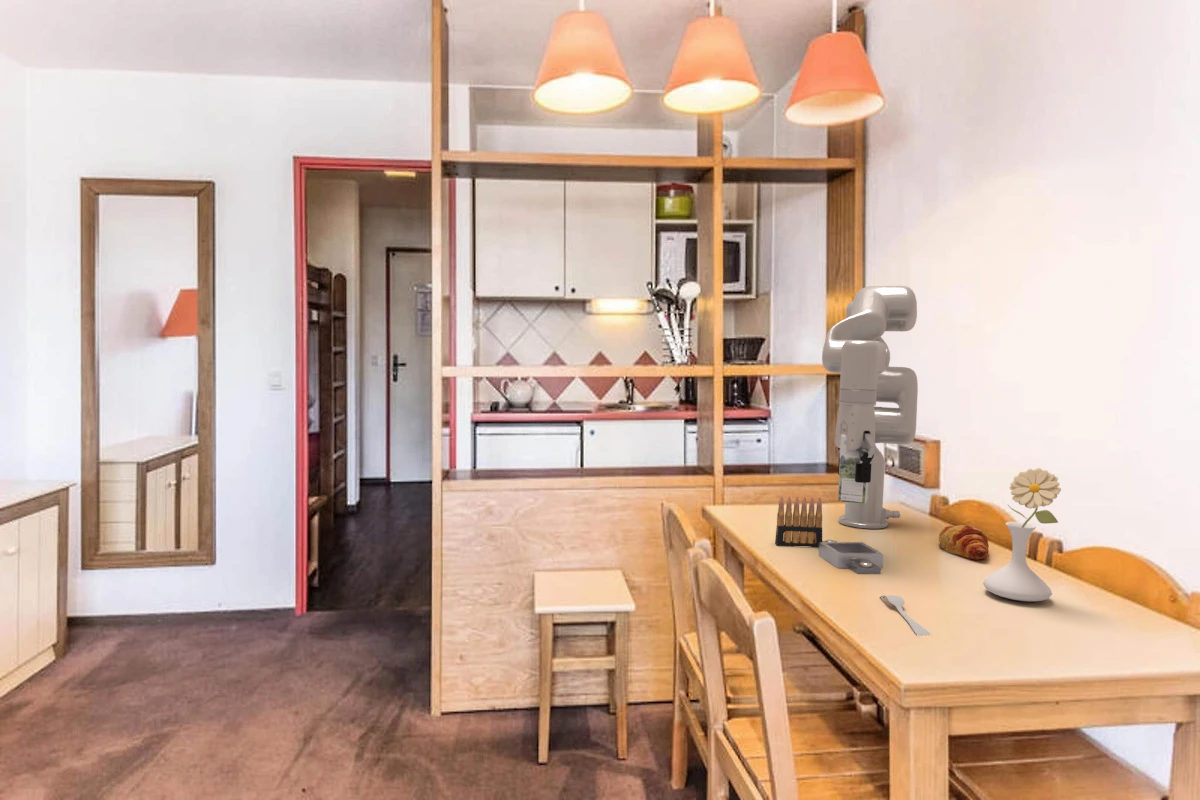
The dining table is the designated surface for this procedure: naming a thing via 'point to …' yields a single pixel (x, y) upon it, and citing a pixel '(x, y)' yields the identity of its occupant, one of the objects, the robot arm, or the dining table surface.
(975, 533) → the croissant
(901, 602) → the fork
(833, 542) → the bolted metal bracket
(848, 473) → the syrup box
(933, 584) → the dining table surface
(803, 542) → the ammunition clip
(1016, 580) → the flower in vase
